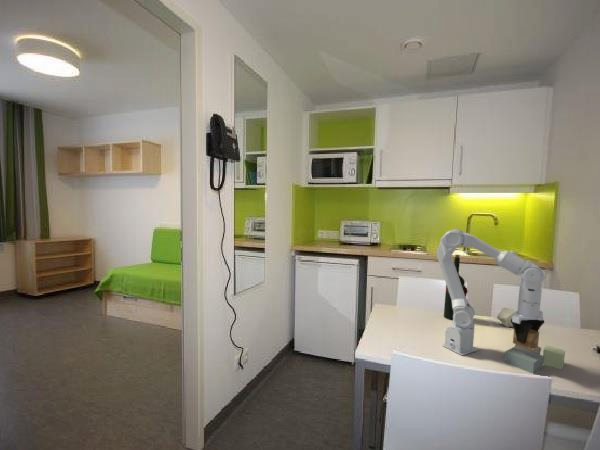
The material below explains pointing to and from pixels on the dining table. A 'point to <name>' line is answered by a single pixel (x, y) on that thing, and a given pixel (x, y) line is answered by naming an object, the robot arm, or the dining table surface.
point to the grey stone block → (506, 316)
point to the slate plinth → (524, 359)
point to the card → (535, 350)
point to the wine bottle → (448, 302)
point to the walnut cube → (528, 340)
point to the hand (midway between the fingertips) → (525, 340)
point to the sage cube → (554, 357)
